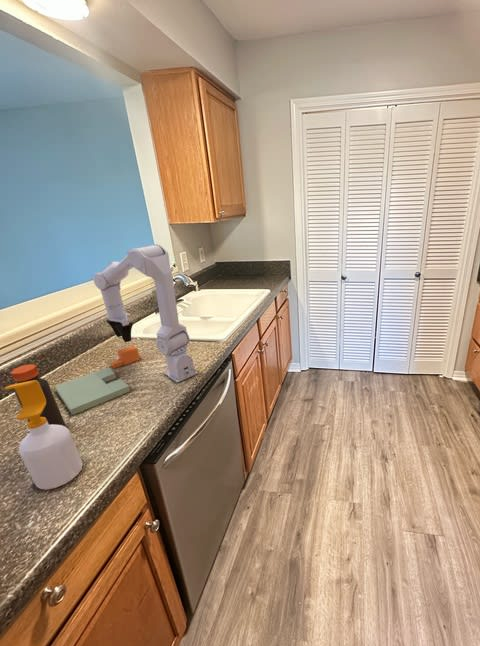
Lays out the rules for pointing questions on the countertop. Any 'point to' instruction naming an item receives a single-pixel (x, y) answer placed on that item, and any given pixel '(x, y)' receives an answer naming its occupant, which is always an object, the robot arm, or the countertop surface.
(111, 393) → the grey tile
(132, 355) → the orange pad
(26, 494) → the countertop surface
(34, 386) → the soap bottle
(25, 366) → the vinegar
